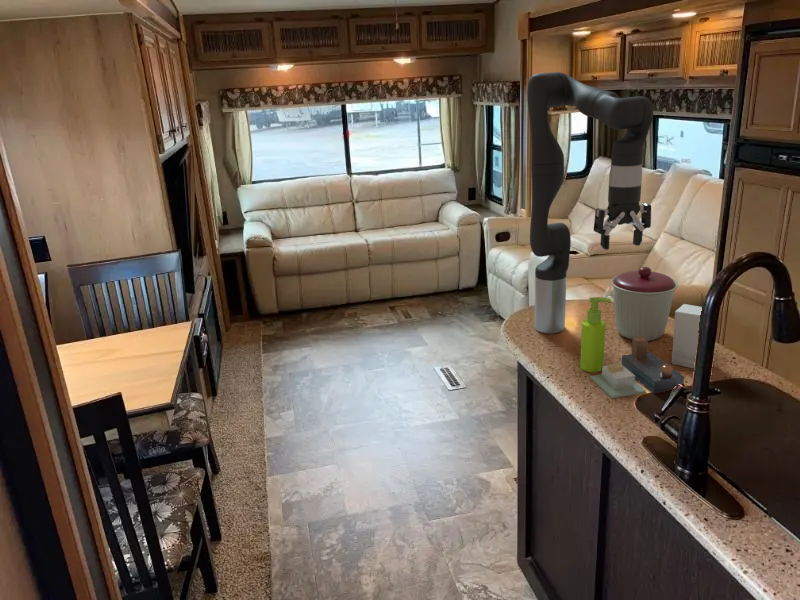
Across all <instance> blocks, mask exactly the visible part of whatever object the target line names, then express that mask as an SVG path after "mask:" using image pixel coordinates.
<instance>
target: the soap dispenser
mask: <svg viewBox="0 0 800 600" xmlns="http://www.w3.org/2000/svg"><path fill="white" fill-rule="evenodd" d="M588 300H589V303H591V304H590V306H591V307H590V308H589V309H587V316H586V317H587V318H586V319H584V320H582V322H581V339H580V340H581V343H580V361H579V362H580V363H579V364H580V365H579V366H580V369H581V370H583V371H585V372H588V373H598V372H601V371H602V367H603V366H604V357H605V355H604V353H605V339H606V338H605V336H606V321H604V320H603V319H602V310H601V309H600V308H599V303H612V300H611V298H609V297H603V296H595V297H588Z"/></svg>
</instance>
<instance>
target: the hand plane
mask: <svg viewBox="0 0 800 600" xmlns="http://www.w3.org/2000/svg"><path fill="white" fill-rule="evenodd" d="M648 346H649V340H648V339H647V338H645V337H644V336H641V337H634V338H633V340H632V344H631V354H624V355H622V356H621V364H622V365H623V366H624V367H625V368H626V369H628V370H629V371H630V372H631V373H632V374H634V375H635V381H636V382H637V381H638V383H639V384H641V385H642V386H644V388H646V389H647V390H648V391H649V392H650V393H652V394H653V395H655V393H656V394H660V393H659V392H662V393H666V392H665V391H668V392H670V391H669V390H671V389H673V388H674V387H675V386H677V385H678V384H683V385H684V383H685V376H684V374H681V373H680V371H677V369H675V368H673V367H674V366H673V364H670V363H666V362H665V361H664V360H662V359H661V358H659V357H658V356H656V354H654V353H653V352H651V351H648Z"/></svg>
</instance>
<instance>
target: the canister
mask: <svg viewBox="0 0 800 600" xmlns="http://www.w3.org/2000/svg"><path fill="white" fill-rule="evenodd" d="M610 283H611V286H612V288H613V291H612V292H613V307H614V308H613V309H614V319H615V320H614V321H615V326H616V330H617V332H618V333H619V334H620V335H621V336H623V337H625V338H626V339H628V340H629V339H630V340H632V341H633V338H634V337H641V336H644V337H645V338H647V339H648V341H654V340H656V339H659V338H661V337H662V336H663V334H664V333H665V330H666V328H667V325H668V321H669V316H670V312H671V308H672V305H673V304H672V303H673V299H674V295H675V291H676V290H677V289H678V287H679V284H678V282H677V280H675V279H673V278H672V277H670V276H669V275H666V274H664V273H661V272H657V271H652V269H651V268H650V267H648V266H642V267H641V266H640V267H639V269H638V270H631V271H625V272H622V273H619V274H618V275H615V276H613V277H612V278H611V280H610Z"/></svg>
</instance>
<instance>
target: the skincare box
mask: <svg viewBox="0 0 800 600" xmlns="http://www.w3.org/2000/svg"><path fill="white" fill-rule="evenodd" d="M702 307H703V306H699V305H692V304H686V303H683V304H682V305H681V306H680V307H679V308H677V309H676V310H675V311H674V324H673V338H672V339H673V340H672V353H671V354H672V355H671V365H677V366H682V367H686V368H690V369H693V368H694V362H695V356H696V350H697V343H698V331H699V322H700V315H701V311H702Z"/></svg>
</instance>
